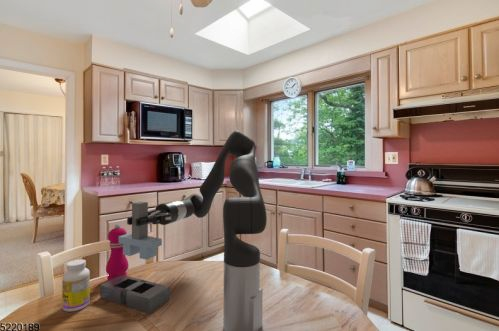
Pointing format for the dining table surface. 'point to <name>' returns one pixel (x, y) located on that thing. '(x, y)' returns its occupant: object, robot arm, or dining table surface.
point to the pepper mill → (116, 254)
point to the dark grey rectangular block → (135, 293)
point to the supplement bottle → (75, 286)
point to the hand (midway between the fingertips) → (132, 222)
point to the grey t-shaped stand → (140, 235)
